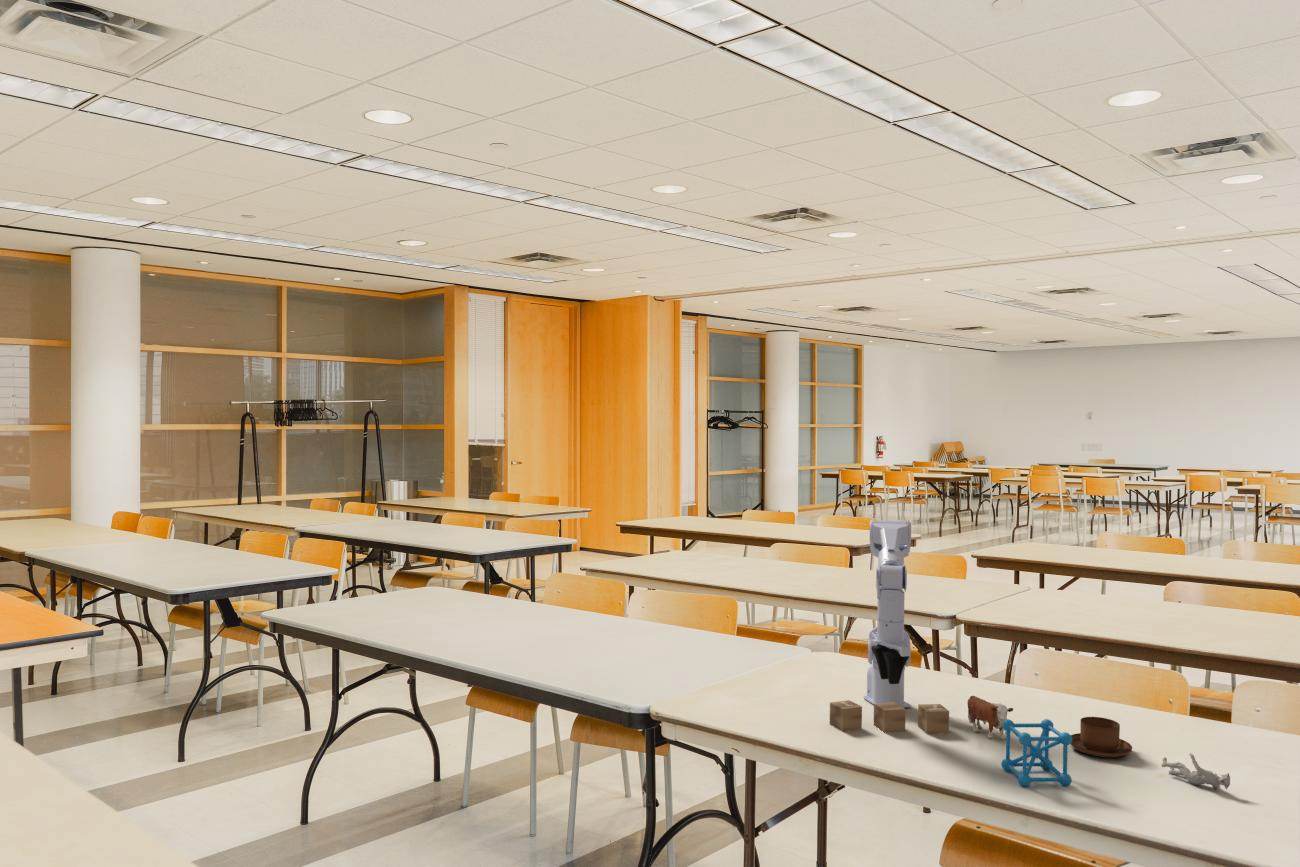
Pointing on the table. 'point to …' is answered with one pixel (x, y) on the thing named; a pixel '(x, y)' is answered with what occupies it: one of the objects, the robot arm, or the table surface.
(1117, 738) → the cup and saucer
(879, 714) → the plain cube
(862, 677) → the table surface
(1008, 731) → the molecular structure
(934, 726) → the cube seven
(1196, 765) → the soldier figure
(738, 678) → the table surface
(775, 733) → the table surface
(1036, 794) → the table surface
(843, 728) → the cube one
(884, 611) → the robot arm
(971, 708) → the bull figurine
